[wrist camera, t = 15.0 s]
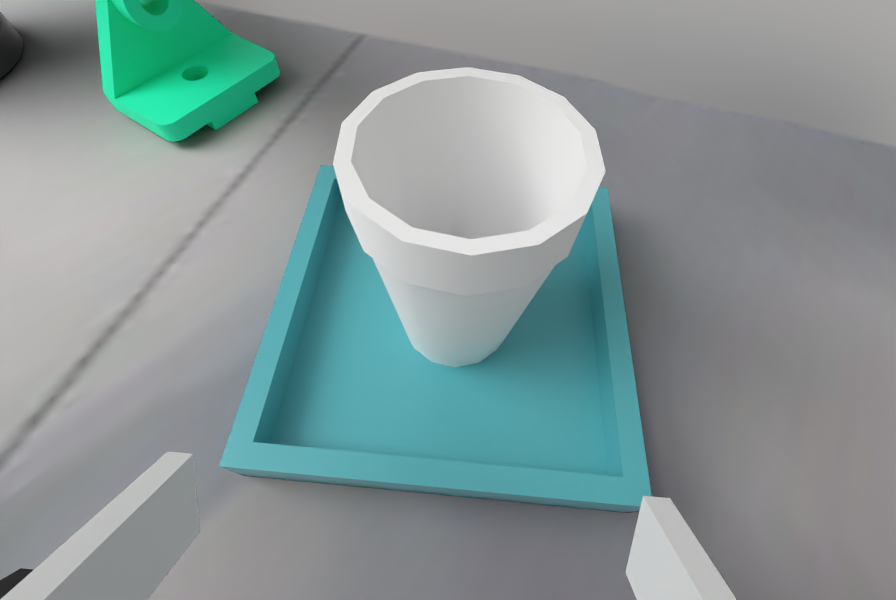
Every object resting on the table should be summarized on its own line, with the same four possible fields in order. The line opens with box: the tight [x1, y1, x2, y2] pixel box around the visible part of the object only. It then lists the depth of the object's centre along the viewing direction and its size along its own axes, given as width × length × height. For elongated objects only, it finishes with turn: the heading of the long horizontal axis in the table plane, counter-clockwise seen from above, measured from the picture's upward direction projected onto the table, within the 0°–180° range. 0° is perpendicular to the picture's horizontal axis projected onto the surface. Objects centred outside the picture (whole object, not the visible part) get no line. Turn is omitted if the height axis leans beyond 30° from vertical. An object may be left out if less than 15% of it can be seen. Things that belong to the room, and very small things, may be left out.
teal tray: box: [219, 165, 652, 513], centre depth 26 cm, size 20×20×3 cm
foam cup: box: [333, 67, 605, 367], centre depth 21 cm, size 10×9×13 cm
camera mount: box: [95, 0, 280, 141], centre depth 34 cm, size 12×8×10 cm, turn 146°
